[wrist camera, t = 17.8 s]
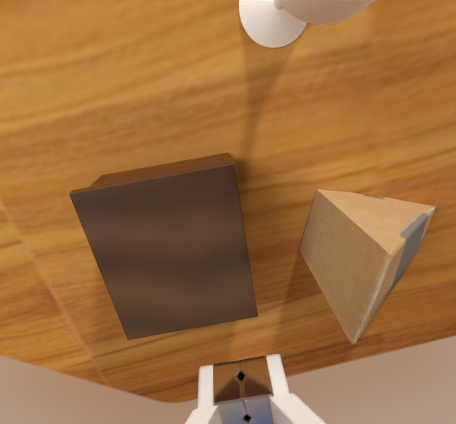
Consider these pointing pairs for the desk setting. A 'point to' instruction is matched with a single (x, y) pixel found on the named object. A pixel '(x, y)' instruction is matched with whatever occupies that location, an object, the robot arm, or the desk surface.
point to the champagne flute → (292, 17)
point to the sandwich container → (360, 250)
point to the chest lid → (170, 249)
